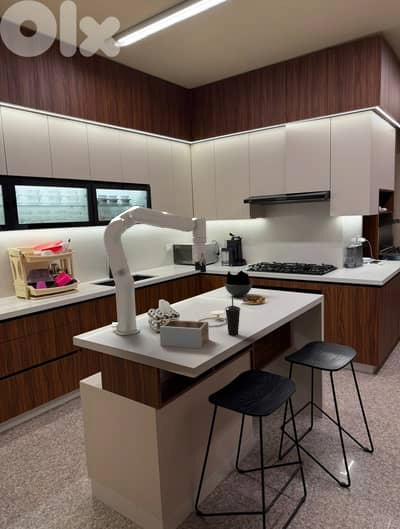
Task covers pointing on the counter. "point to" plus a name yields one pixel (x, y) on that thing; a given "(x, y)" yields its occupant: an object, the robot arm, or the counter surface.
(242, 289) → the coal bowl
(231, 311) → the drinking cup
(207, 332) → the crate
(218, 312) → the hand towel holder
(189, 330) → the panel
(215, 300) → the counter surface
